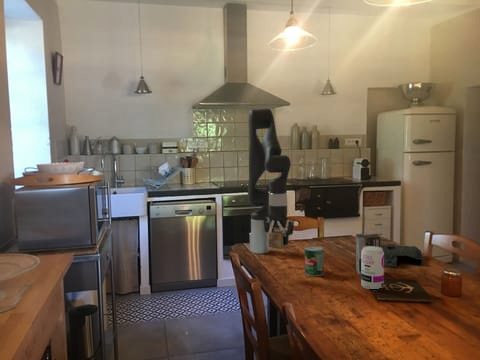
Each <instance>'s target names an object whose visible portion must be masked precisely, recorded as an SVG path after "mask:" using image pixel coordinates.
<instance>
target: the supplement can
mask: <svg viewBox="0 0 480 360" xmlns="http://www.w3.org/2000/svg"><path fill="white" fill-rule="evenodd" d="M360 277H361V279H360V280H361V282H360V283H361V286H362V288H364V289H366V290H369V289H379V288H382V287H383V288H385V266H384V252H383V250H382V248H380V247H376V246H366V247H363V250H362V252H361V275H360ZM383 288H382V289H383Z"/></svg>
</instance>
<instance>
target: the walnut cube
mask: <svg viewBox="0 0 480 360" xmlns="http://www.w3.org/2000/svg"><path fill="white" fill-rule="evenodd" d="M289 237H290V235H289V236H288V244H287V245H283V233H282V232H281V230H280V229H279V230H278V229H277V230H276V229H275V231H272V232H269V233H268V242H269V248H270V249H271V248H272V249H276V250H278V249H279V250H282V249H285V248H287V247H289V246H290V244H289V243H290V242H289Z"/></svg>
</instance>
